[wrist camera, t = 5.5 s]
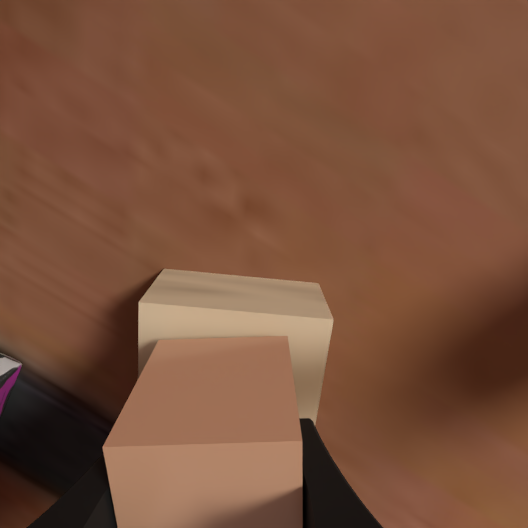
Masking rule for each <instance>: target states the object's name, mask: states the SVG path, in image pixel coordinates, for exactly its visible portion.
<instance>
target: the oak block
mask: <svg viewBox="0 0 528 528" xmlns="http://www.w3.org/2000/svg"><path fill="white" fill-rule="evenodd" d="M333 320H334V319H333V317H332V315H331V312H330V310H329V307H328V305H327V303H326V300H325V298H324V295H323V293H322V291H321V288H320V286H319V284H318V283H310V282H299V281H289V280H278V279H268V278H257V277H246V276H236V275H225V274H214V273H204V272H193V271H183V270H172V269H163V270H162V272H161V273H160V274H159V276H158V277H157V278H156V280H155V281H154V282H153V284H152V285H151V286H150V288H149V289H148V290H147V292H146V293H145V294H144V296H143V297H142V298H141V300H140V301H139V314H138V379H139V377H140V375H141V373H142V371H143V369H144V367H145V365H146V363H147V361H148V360H149V358H150V356H151V354H152V352H153V350H154V348H155V346H156V344H157V342H158V340H172V339H204V338H236V337H267V336H288V342H289V349H290V357H291V364H292V371H293V378H294V385H295V392H296V399H297V406H298V413H299V418H310V419H311V420H312V421H313V422H314V425H315V424H316V418H317V412H318V406H319V401H320V395H321V389H322V383H323V378H324V372H325V366H326V360H327V354H328V349H329V343H330V337H331V331H332V326H333Z"/></svg>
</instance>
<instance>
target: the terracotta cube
mask: <svg viewBox="0 0 528 528" xmlns="http://www.w3.org/2000/svg"><path fill="white" fill-rule="evenodd" d="M103 453H104V458H105V463H106V468H107V474H108V479H109V484H110V490H111V495H112V500H113V505H114V511H115V516H116V521H117V527H118V528H303V474H302V434H301V427H300V420H299V413H298V406H297V399H296V392H295V385H294V378H293V371H292V364H291V357H290V349H289V342H288V336H267V337H236V338H204V339H172V340H158V342H157V344H156V346H155V348H154V350H153V352H152V354H151V356H150V358H149V360H148V361H147V363H146V365H145V367H144V369H143V371H142V373H141V375H140V377H139V379H138V380H137V382H136V384H135V386H134V388H133V390H132V392H131V394H130V396H129V398H128V400H127V401H126V403H125V405H124V407H123V409H122V411H121V413H120V415H119V417H118V419H117V420H116V422H115V424H114V426H113V428H112V430H111V432H110V434H109V436H108V438H107V440H106V441H105V443H104V445H103Z"/></svg>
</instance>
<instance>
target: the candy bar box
mask: <svg viewBox="0 0 528 528" xmlns="http://www.w3.org/2000/svg"><path fill="white" fill-rule="evenodd" d="M21 366H22V363H21V362H20V361H18V360H15V359H13V358H11V357H9V356H7V355H4V354H2V353H0V418H1V416H2V413H3V410H4V408H5V405H6V403H7V401H8V398H9V396H10V393H11V391H12V388H13V386H14V384H15V381H16V379H17V376H18V374H19V371H20V369H21Z"/></svg>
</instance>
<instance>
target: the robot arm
mask: <svg viewBox="0 0 528 528" xmlns="http://www.w3.org/2000/svg"><path fill="white" fill-rule="evenodd" d="M299 420H300V427H301V434H302V474H303V528H383V527H382V526H381V525H380V524H379V522H378V521H377V520H376V519H375V518H374V516H373V515H372V514H371V513H370V512H369V510H368V509H367V508H366V507H365V505H364V504H363V503H362V501H361V500H360V499H359V497H358V496H357V495H356V493H355V492H354V491H353V489H352V488H351V486H350V485H349V484H348V482H347V481H346V479H345V478H344V476H343V475H342V473H341V472H340V470H339V469H338V467H337V465H336V464H335V462H334V461H333V459H332V457H331V456H330V454H329V452H328V451H327V449H326V447H325V445H324V443H323V442H322V440H321V438H320V436H319V434H318V432H317V430H316V427H315V425H314V422H313V421H312V420H311V419H310V418H299ZM27 528H118V527H117V521H116V516H115V511H114V505H113V500H112V495H111V490H110V484H109V479H108V474H107V468H106V463H105V458H104V454H103V455H102V456H101V457H100V458H99V459H98V460H97V461H96V462H95V464H94V465H93V466H92V467H91V468H90V469H89V470H88V471H87V472H86V473H85V474H84V475H83V476H82V477H81V478H80V479H79V480H78V481H77V482H76V483H75V484H74V485H73V486H72V487H71V488H70V489H69V490H68V491H67V492H66V493H65V494H64V495H63V496H62V497H61V498H60V499H59V500H58V501H57V502H56V503H54V504H53V505H52V506H51V507H50V508H49V509H48V510H47V511H46V512H45V513H43V514H42V515H41V516H40V517H39V518H38V519H36V520H35V521H34V522H33V523H32V524H30V525H29V526H28V527H27Z"/></svg>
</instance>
